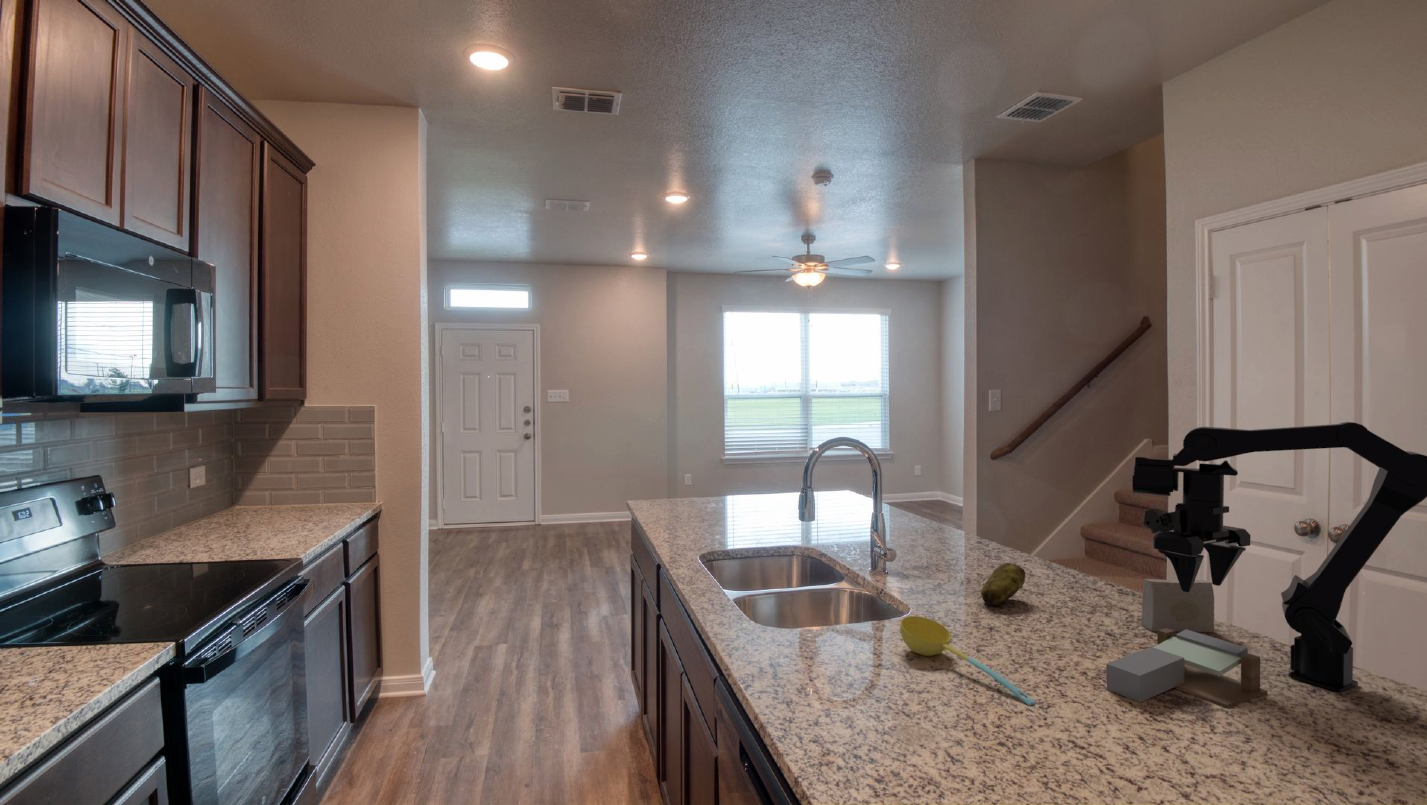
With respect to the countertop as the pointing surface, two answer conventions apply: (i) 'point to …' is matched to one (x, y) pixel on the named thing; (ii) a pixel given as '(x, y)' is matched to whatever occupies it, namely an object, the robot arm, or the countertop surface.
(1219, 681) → the trapdoor frame
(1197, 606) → the grey plaster block
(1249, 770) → the countertop surface
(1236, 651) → the trapdoor
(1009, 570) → the potato
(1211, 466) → the robot arm
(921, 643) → the ladle
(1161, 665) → the grey rectangular block
